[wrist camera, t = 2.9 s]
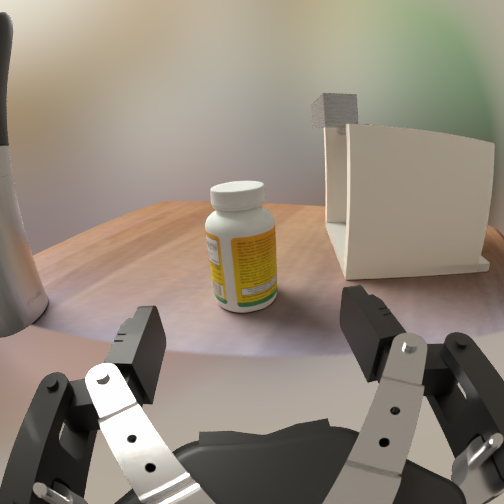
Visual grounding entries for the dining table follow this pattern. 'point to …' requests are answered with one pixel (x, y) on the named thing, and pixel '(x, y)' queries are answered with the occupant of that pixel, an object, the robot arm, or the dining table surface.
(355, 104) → the trapdoor
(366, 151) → the trapdoor stand
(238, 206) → the supplement bottle
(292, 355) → the dining table surface
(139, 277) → the dining table surface
